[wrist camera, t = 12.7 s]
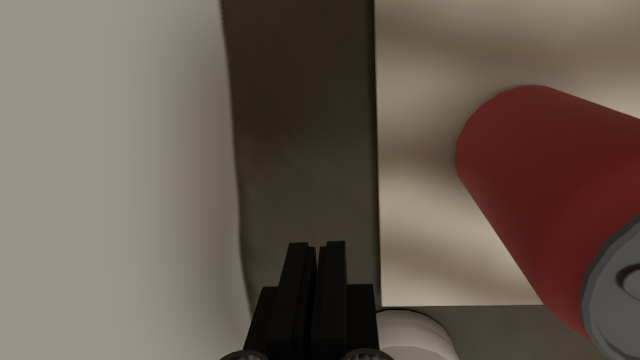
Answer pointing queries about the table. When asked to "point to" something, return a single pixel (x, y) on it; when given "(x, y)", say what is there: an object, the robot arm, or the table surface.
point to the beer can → (563, 205)
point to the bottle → (413, 337)
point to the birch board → (457, 107)
